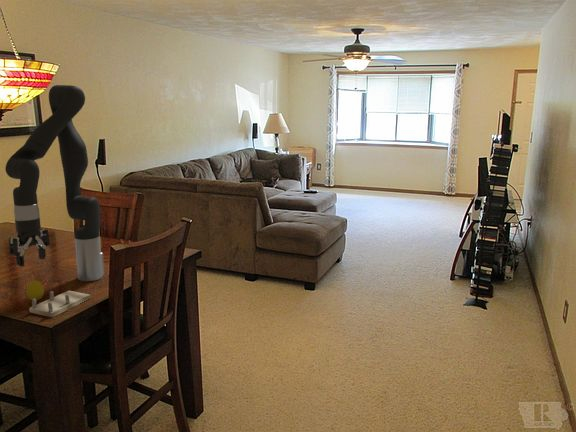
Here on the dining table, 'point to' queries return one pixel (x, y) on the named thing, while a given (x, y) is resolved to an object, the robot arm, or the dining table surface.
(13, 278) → the dining table surface
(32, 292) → the lemon
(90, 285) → the dining table surface
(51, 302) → the peg board
